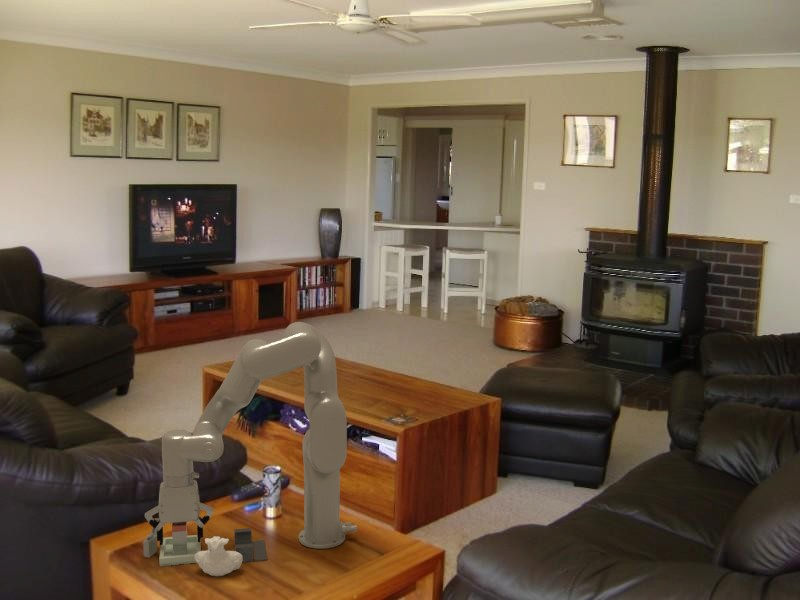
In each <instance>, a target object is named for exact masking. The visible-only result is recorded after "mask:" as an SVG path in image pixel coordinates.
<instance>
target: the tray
mask: <svg viewBox="0 0 800 600" xmlns="http://www.w3.org/2000/svg"><path fill="white" fill-rule="evenodd" d="M201 549H202V538H201V539H200V542H198V538H197V534H194V535H187V554H185V555H173V538H172V536H169V537H163V545H160V549H159V550H160V551H159V558H158V559H159V560H158V561H159V567H169V566H171V565H172V566H180V565H179V564H184V565H191V564H190V563H196V564H198V563H197V562H196V560H195V558H194V556H195V554H196V553H198V552H200V551H202V550H201ZM172 566H171V567H172Z"/></svg>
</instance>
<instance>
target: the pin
mask: <svg viewBox="0 0 800 600" xmlns="http://www.w3.org/2000/svg"><path fill="white" fill-rule="evenodd" d="M171 524H172V525H171V530H172V535H171V537H172V538H173V555H185V554H187V536H188V525H187V524H188V522H179V523H171Z"/></svg>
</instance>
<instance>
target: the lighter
mask: <svg viewBox="0 0 800 600" xmlns="http://www.w3.org/2000/svg"><path fill="white" fill-rule="evenodd" d="M154 519H155V520H156V521H157V522H158V521H159V518H156V517H155V518H154ZM142 543H143V544H142V545H143V548H142V549H143V557H144V558H151V557H152V556H153V555H154V554H155V553H157V552H158V541H157V531H156V530H155V528H153V527H152V526H151V532H149V533H148V534H147V535H146V538H145V539H143V542H142Z"/></svg>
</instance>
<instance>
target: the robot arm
mask: <svg viewBox="0 0 800 600" xmlns="http://www.w3.org/2000/svg"><path fill="white" fill-rule="evenodd" d="M300 368H303V376H304V378H303V379H304V400H303V401H304V403H303V404H304V405H303V406H304V407H303V409H304V413H305V415H306V417H307V419H308V423H309V429H307V431H306V432H305V434H304V436H303V439H302V446H301V447H302V458H303V459H302V460H303V491H304V492H303V496H304V497H303V507H304V509H303V511H304V513H303V516H304V517H303V520H304V525H303V526H304V529H302V530H300V532H299V533H298V542H299V543H301V545H302V546H305V547H307V548H311V549H319V550H322V549H323V550H325V549H326V550H327V549H331V548H335V547H338V546H339V545H341V544H343V543H344V541H345V540H346V534H347V533H357V532H358V526H357V524H352V522H351V521H346V522H343V521H342V520H341V519H340V518H341V517H340V513H341V512H340V511H341V509H340V508H341V506H340V502H341V501H340V499H341V497H340V495H341V493H340V491H341V490H340V489H341V487H340V484H341V471H340V470H341V469H342V467H343V466H344V464H345V462H346V459H347V454H348V453H347V452H348V451H347V450H348V449H347V448H348V447H347V445H348V442H347V441H348V440H347V439H348V431H347V430H348V427H347V426H348V425H347V424H348V422H347V421H348V420H347V411H346V408H345V405H344V404H343V402H342V401H341V399H340V398H339V394H338V393H339V391H338V376H337V375H338V374H337V373H338V372H337V361H336V356H335V352H334V349H333V348H332V345H331V344H330V341H329V340H328V338H327V337H326V336H325V335H324V333H323V332H321V331H320V330H319V329H318V328H316V327H315V326H313V325H311V324H309V323H306V322H303V321H295V322H292V323H290V324H289V325H288V326H287V327H286V328H285V329H284V332H283V336H282V339H279V340H275V341H273V342H270V343H268V342H267V341H266V340H263V339H260V338H253V339H251V340H248V341H246V343H245V344H244V345H243V346H242V348H241V350H240V351H239V353H238V355H237V356H236V359H235V360H234V361H233V364H232V365H231V367H230V370H229V371H228V373H227V375H226V376H225V378H224V379H223V381H222V383H221V385H220V387H219V388H218V389H217V391H216V392H215V394H214V395H213V396H212V398H211V399H210V401H208V403H207V405H206V406H205V408H204V410H203V411H202V414H201V415H200V417H199V418H198V421H197V422H196V424H195V426H194V429H193V432H192V433H191V432H190V431H188V430H186V429H171V430H169V431H165V433H163V435H162V437H161V457H162V482H161V483H160V485H159V493H158V505H157V506H154V507H153V508H151V509H149V510H147V511H146V512H145V513H144V518H145V519H146V521H147V522H148V524H149V526H151V528H152V527H153V528H155V530H156V531H157V542H159V546H161V545H163V538H164V526H165V524H172V523H179V522H187V523H188V522H190V523H191V522H194V523H195V524H196V525H197V526H196V527H197V528H196V530H197V531H196V532H197V533H196V535H197V538H198V542H200V539H201V540H202V538H204V526H205V525H206V524H207V523H208V522H209V521H210V519H211V517H212V516H213V514H214V511H215V509H214V507H212V506H211V505H210V506H209V505H207V504H205V503H203V502H200V501H201V500H200V491H199V487H198V485H199V484H198V482H197V479H199V478H200V473H199V472H196V471H194V462H201V463H210V462H214V461H216V460H218V459H220V457H222V455H223V453H224V448H225V446H224V441H223V436H224V435H223V434H224V432H225V430H226V429H227V427H228V425H229V424H230V422H231V421H232V419H233V417H234V416H235V414H237V412H238V411H240V410H241V409H243V408H245V407H247V406H248V405H249V404H250V403H251V401H252V399H253V398H254V396H255V394H256V392H257V390H258V389H259V387H260V385H261V383H262V382H263V380H268V379H271V378H274V377H275V378H276V377H277V376H280V375H283V374H284V375H285V374H286V373H289V372H292V371H294V370H297V369H300ZM201 511H203V512H206V514H205V515H204V516H203V517H201V515H200V514H201V513H200V512H201ZM156 514H158V519H159V521H158V522H157V521H156V520H155V518H153V516H154V515H156Z"/></svg>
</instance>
